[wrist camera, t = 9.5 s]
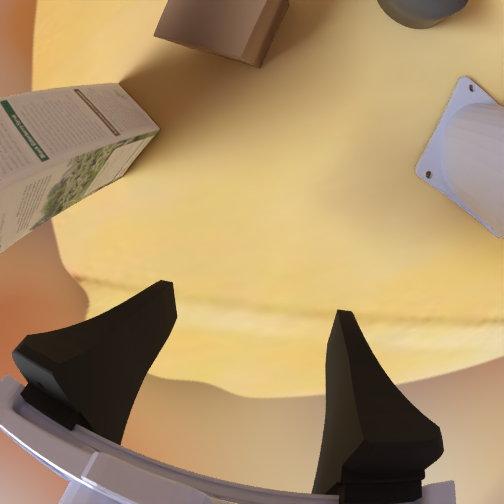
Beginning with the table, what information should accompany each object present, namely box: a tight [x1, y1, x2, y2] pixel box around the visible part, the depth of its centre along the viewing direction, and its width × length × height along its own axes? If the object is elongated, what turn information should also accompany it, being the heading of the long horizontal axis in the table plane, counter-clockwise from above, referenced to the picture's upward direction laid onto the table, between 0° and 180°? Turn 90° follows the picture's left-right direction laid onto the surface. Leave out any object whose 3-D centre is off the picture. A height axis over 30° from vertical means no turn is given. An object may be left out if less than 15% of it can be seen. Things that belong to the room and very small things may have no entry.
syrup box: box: [0, 83, 160, 253], centre depth 13 cm, size 6×6×14 cm
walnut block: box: [154, 0, 289, 68], centre depth 12 cm, size 5×5×5 cm
